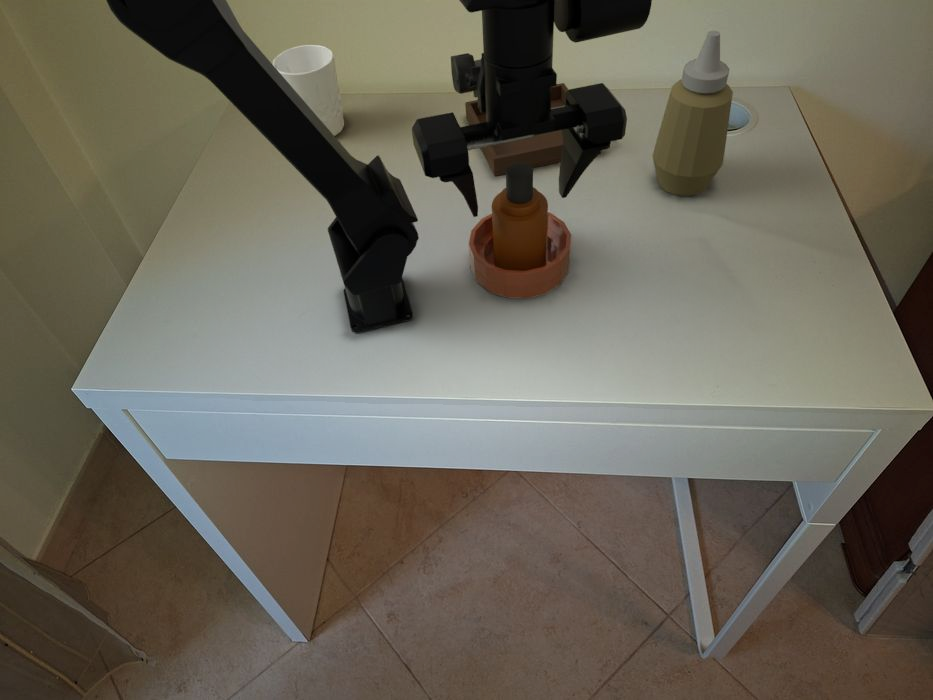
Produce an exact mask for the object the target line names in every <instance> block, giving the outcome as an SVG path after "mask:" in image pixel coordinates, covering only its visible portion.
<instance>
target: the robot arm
mask: <svg viewBox="0 0 933 700" xmlns="http://www.w3.org/2000/svg"><path fill="white" fill-rule="evenodd" d="M105 1H106V3H107V5H108V8H109V9H110V11H111V12H112V13H113V15H114V16H115V18H116V19H117V20H118V22H119V23H120V24H122V25H123V26H124V27H125V28H126V29H128V30H129V31H130V32H132V33H133V34H134V35H135V36H137V37H138V38H140V39H141V40H143V41H144V42H145V43H146V44H148V45H149V46H151V48H153V49H155V50H156V51H157V52H159V53H160V54H161V55H163V56H164V57H165V58H167V59H168V60H170V61H173V62H174V63H176V64H178V65H180V66H183V67H185V68H186V69H189V70H191V71H193V72H195V73H197V74H199V75H201V76H203V77H204V78H206V79H207V80H208V81H210V82H211V83H212V85H213V86H215V87H216V89H218V91H220V92H221V94H222V95H223V96H224V97H225V98H226V99H227V100H228V101H229V102H230V103H231V104H232V105H233V106H234V107H235V108H236V109H237V110H238V111H239V112H240V114H242V115H243V116H244V117H245V118H246V119H247V120H248V121H249V122H250V124H251V125H253V127H254V128H255V129H256V130H257V131H258V132H259V133H261V135H262V136H263V137H264V138H265V139H266V140H267V141H268V142H269V143H270V144H271V145H272V146H273V147H274V148H275V149H276V150H277V151H278V152H279V153H280V154H281V155H282V156H283V157H284V158H285V159H286V161H287V162H289V163H290V165H291V166H292V167H294V169H295V170H296V171H297V172H298V173H299V174H301V176H302V177H303V178H304V179H305V180H306V181H307V182H308V183H309V184H310V185H311V186H312V187H313V188H314V189H315V190H316V191H317V192H318V193H319V194H320V195H321V196H322V198H324V199H325V200H326V201H327V203H328V205H329V207H330V208H331V210H332V212H333V213H334V215H335V218H334V219H333V220H332V222H331V223H330V224H329V226H328V227H327V233H328V236H329V238H330V242H331V246H332V249H333V253H334V256H335V260H336V263H337V266H338V269H339V273H340V276H341V280H342V282H343V286H344V289H343V296H344V301H345V305H346V311H347V317H348V322H349V326H350V330H351V332H352V333H356V334H357V333H360V332H365V331H369V330H373V329H374V330H375V329H378V328H383V327H387V326H390V325H395V324H399V323H404V322H407V321H408V322H409V321H411V320H413V318H414V312H413V309H412V305H411V301H410V298H409V295H408V292H407V289H406V285H405V281H404V278H403V275H404V271H405V268H406V264H407V260H408V257H409V256H410V255H411V254H412V253H413V251H414V250H415V248H416V246H417V244H418V241H419V232H418V230H417V228H416V226H415V224H414V223H417V222H418V221H419V219H418V216H417V214H416V212H415V209H414V208H413V204H412V203H411V201H410V199H409V196H408V194H407V192H406V190H405V188H404V186H403V184H402V181H401V179H400V178H398V177H396V176H394V175H393V174H391V173H390V172H389V171H388V169H387V168H386V166H385V164H384V162H383V159H382V158H381V157H380V155H376V156H375V157H374V158H372V160H370V162H368V164H367V163H365V162H364V161H361V160H359V159H357V158H355V157H354V156H352V155H351V153H350V152H349V151H348V150H347V149H346V148H345V147H344V145H343V144H342V143H341V142H340V141H339V139H338V138H337V137H336V135H335V136H334V135H333V134H332V133H331V132H330V131H329V129H328V128H327V127H326V126H325V125H324V124H323V122H322V121H321V120H320V119H319V118H318V117H317V115H316V114H315V113H314V112H313V111H312V110H311V109H310V107H309V106H308V105H307V104H306V103H305V102H304V100H303V99H302V98H301V97H300V96H299V95H298V93H297V92H296V91H295V90H294V89H293V88H292V87H291V85H290V84H289V83H288V82H287V81H286V80H285V78H284V77H283V76H282V75H281V74H280V73H279V71H278V70H277V69H276V68H275V67H274V66H273V62H271V61H270V60H269V59H268V57H267V56H266V54H264V53H263V52H262V50H260V48H259V47H258V45H256V44H255V42H254V41H253V40H252V39H251V38H250V37H249V36H248V34H247V33H246V32H245V31H244V29H243V28H242V26H241V24H240V23H239V21H238V20H237V18H236V16H235V13H234V12H233V10H232V8H231V6H230V5H229V3H228V1H227V0H105ZM458 1H459V2H460V4H461V5H462V6H463V8H465V10H466V11H467V12H468V13H470V14H471V13H476V12H481V20H482V21H481V23H482V24H481V25H482V45H483V47H482V48H483V52H481V54H480V55H481V57H480V59H476V60H475V57H474V55H473V54H470V53H468V52H467V53H461V54H456V55H450V68H451V70H450V71H451V78H452V79H451V80H452V85H453V89H454V91H455V92H457V93H458V94H459V95H461V94H467V93H472V92H473V97H474V98H477V99H476V100H478V108H479V110H480V112H481V113H486V121H487V122H484V123H479V124H473V125H469V124H468V125H464V126H463V125H462V126H461V125H460V124H459V122H458V120H457V117H456V115H455V113H454V112H446V113H442V114H436V115H431V116H426V117H421V118H417V119H415V122H414V123H413V125H412V126H411V135H412V142H413V147H414V149H415V153H416V154H417V155H416V156H417V157H418V161H419V163H420V166H421V167H422V168H421V169H422V171H423V173H424V176H425V177H428V178H431V179H437V178H438V179H439V180H440V182H442V183H451V182H452V183H453V185H454V186H455V187H456V188H457V189H458V191H459V192H460V193H461V195H462V196H463V198H464V200H465V202H466V205H467V206H468V208H469V210H470V213H471V215H472V217H473V218H477V217H479V216H478V215H479V205H478V198H477V192H476V191H477V190H476V184H475V179H474V172H473V171H472V168H471V165H470V157H469V151H472V150H476V149H481V148H482V147H487V146H492V145H497V144H502V143H507V142H512V141H517V140H522V139H527V138H532V137H534V135H538V134H543V133H548V132H553V131H558V130H562V135H563V146H562V154H561V162H559V164H560V165H559V172H558V173H559V174H558V193H559V195H560V197H561V198H562V199H565V198H567V197H568V195H570V192H571V191H572V190H573V188H574V187H575V185H576V184H577V182H578V181H579V179H580V178H581V176H582V175H583V174H584V172H585V171H586V170H587V168H588V167H589V166H590V165H591V164H592V162H593V161H594V160H595V159H596V158H597V156H599V155H600V154H599V153H600V152H601V153H602V151H605V150H608V149H610V148H611V145H612V142H615V141H619V140H622V139H624V137H625V135H626V129H627V123H628V122H627V120H628V116H627V113H626V109H625V107H624V106H623V105H622V104H621V102H620V101H619V100H618V99H617V97H616V96H615V95H614V94H613V92H612V91H611V90H610V89H609V88H608V87H607V86H606V84H604V83H603V82H601V83H595V84H589V85H585V86H579V87H574V88H568V90H567V92H566V93H565V94H564V105H565V106H560V107H555V108H551V90H552V87H553V86H556V84H557V83H558V81H557V78H558V73H557V72H556V71H555V70H554V68H553V62H554V61H553V56H554V29H555V28H556V29H557V30H558V31H559V33H565V34H566V36H567V38H568V39H569V41H571V42H572V43H575V44H576V43H580V42H585V41H590V40H594V39H599V38H603V37H608V36H613V35H616V34H621V33H625V32H630V31H635V30H639V29H641V28H643V27H644V26H645V24H646V23H647V21H648V18H649V17H650V13H651V8H652V2H653V0H458Z"/></svg>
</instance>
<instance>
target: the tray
mask: <svg viewBox="0 0 933 700" xmlns="http://www.w3.org/2000/svg"><path fill="white" fill-rule="evenodd" d="M567 90H569V88H568V87H567V85H566V84H565V83H564V82H561V83H556V86H553V87H552V90H551V108H555V107H560V106H565V105H564V94H565V93H566V92H567ZM464 105H465V106H464V107H465V117H466V118H465V119H466V121H467V123H468V125H473V124H479V123H484V122H487V121H486V113H481V112H480V110H479V108H478V99H475V100H471V101H469V100H468V101H465V102H464ZM562 146H563V135H562V130H558V131H553V132H548V133H543V134H538V135H534V137H532V138H527V139H522V140H517V141H512V142H507V143H502V144H497V145H492V146H487V147H482V148H480V150H481V152H482V154H483V156H484V158H485V160H486V162H487V164H488V166H489V168H490V171H491V172H492V175H493V176H494V177H497V176H501V175H506V169H507V167H508V166H509V165H511V164H514V163H526V164H529V165H530V166H531V167H532V168H533V169H534V168H540V167H543V166H549V165H553V164H558V163H559V164H560V163H561V154H562ZM601 153H602V151H601V152H600V153H599V154H598V155H600V154H601Z"/></svg>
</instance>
